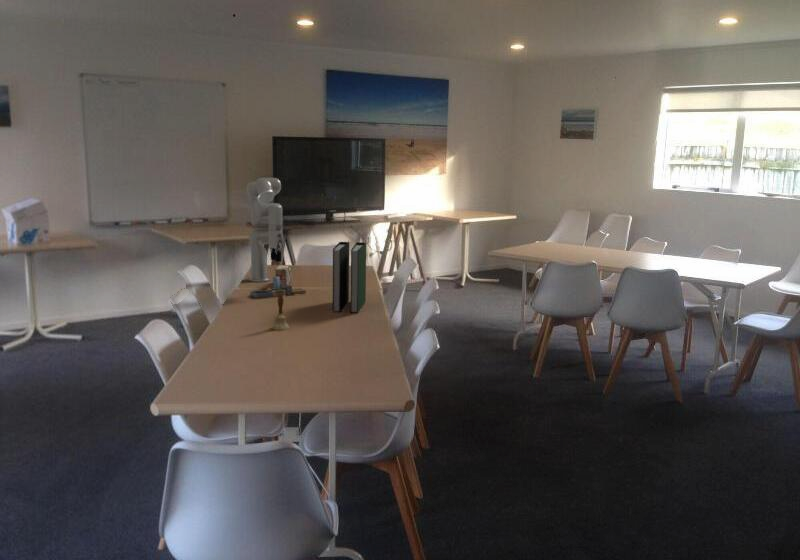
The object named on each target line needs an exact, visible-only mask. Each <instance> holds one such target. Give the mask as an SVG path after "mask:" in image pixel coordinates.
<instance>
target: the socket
mask: <svg viewBox="0 0 800 560" xmlns="http://www.w3.org/2000/svg"><path fill="white" fill-rule="evenodd" d="M266 290H267V291H269V292H271V293H272V297H271V298H276V297H275V296H279V294H282V296H283V295H286V290H284V289H282V288H279V290H277V291H274V290H273V287H272V288H266ZM286 296H287V295H286ZM283 297H284V296H283Z"/></svg>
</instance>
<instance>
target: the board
mask: <svg viewBox="0 0 800 560" xmlns="http://www.w3.org/2000/svg"><path fill="white" fill-rule="evenodd" d="M304 293H306V289H303V288H301V287H292V295H291V296H296V295H295V294H300V295H305V294H304ZM306 294H307V293H306Z"/></svg>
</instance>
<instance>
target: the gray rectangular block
mask: <svg viewBox="0 0 800 560" xmlns="http://www.w3.org/2000/svg"><path fill="white" fill-rule="evenodd" d="M281 288H282V289H284V290H286V296H292V295H291V294H292V288H293V285H291V284H290V285H288V284H281Z"/></svg>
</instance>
